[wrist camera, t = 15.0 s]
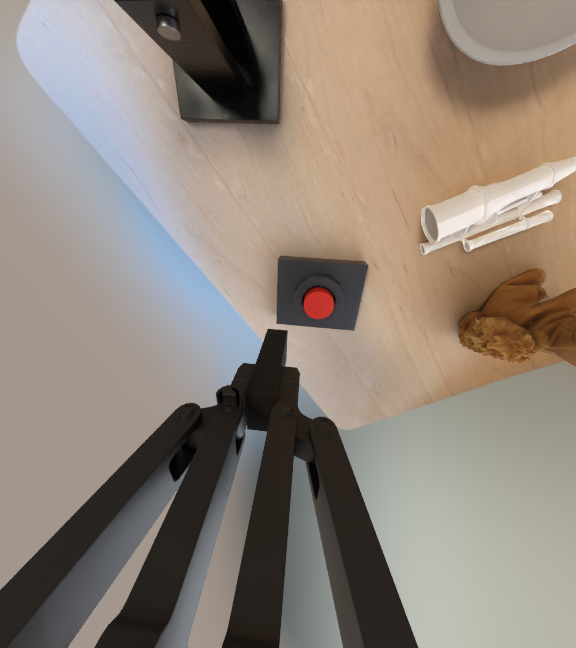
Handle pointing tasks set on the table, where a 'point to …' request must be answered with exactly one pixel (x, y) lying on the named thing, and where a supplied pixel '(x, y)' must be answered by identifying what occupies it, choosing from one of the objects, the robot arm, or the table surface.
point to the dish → (509, 28)
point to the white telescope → (494, 208)
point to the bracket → (219, 55)
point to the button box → (315, 272)
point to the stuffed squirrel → (523, 322)
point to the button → (318, 303)
